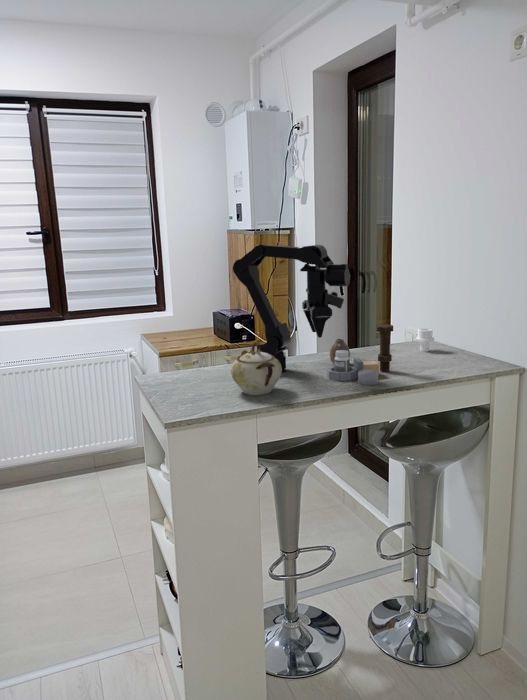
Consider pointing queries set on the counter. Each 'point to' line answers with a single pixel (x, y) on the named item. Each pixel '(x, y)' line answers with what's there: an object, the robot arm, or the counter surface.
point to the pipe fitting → (424, 338)
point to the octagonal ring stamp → (352, 370)
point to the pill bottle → (342, 361)
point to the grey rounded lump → (367, 377)
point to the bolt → (384, 346)
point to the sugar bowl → (256, 371)
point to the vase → (336, 346)
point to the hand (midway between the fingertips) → (316, 334)
